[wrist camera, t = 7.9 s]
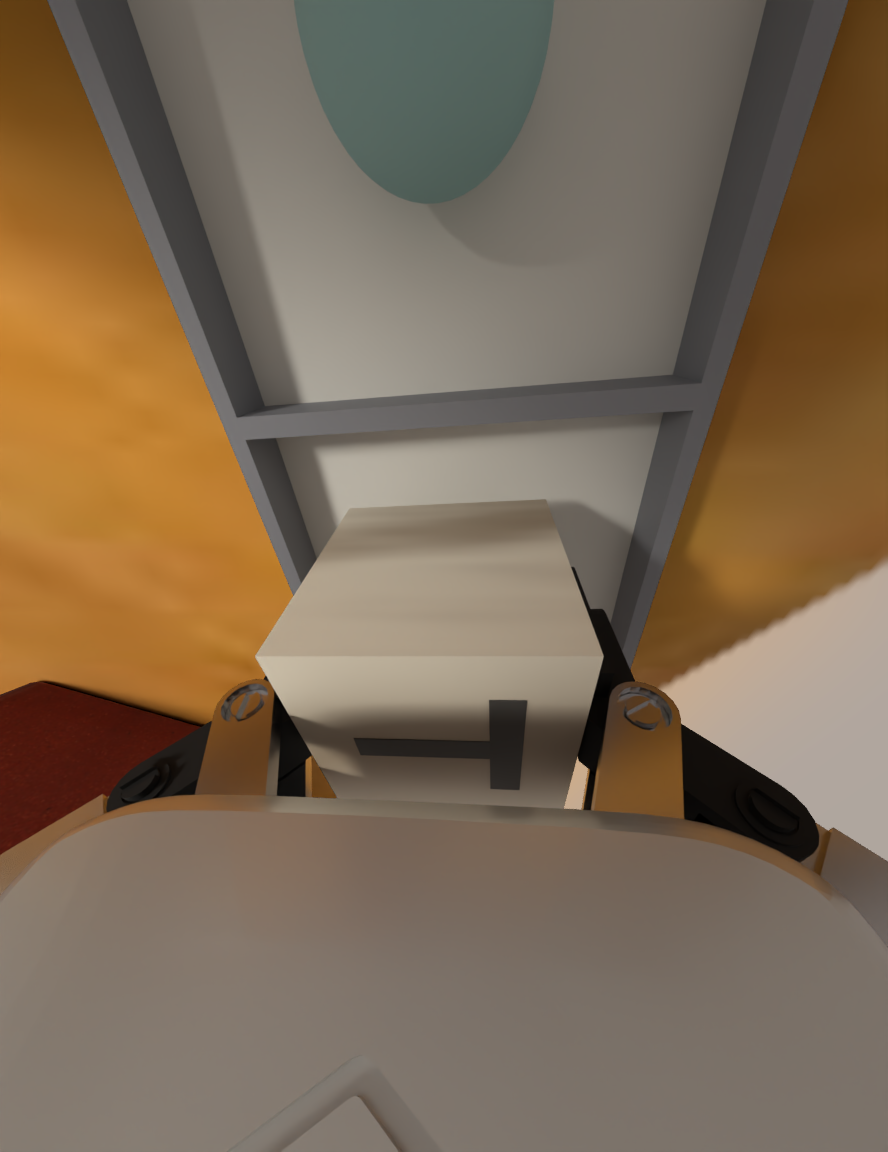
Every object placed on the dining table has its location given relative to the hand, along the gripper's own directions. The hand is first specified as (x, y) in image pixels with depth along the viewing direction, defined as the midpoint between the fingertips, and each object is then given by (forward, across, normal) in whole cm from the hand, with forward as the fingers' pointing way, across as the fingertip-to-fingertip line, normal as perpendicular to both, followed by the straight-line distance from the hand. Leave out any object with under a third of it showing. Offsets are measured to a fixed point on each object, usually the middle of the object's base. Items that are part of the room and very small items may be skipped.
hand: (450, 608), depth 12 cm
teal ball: (+3, 0, -11) cm, 12 cm away
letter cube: (+1, 0, 0) cm, 1 cm away
